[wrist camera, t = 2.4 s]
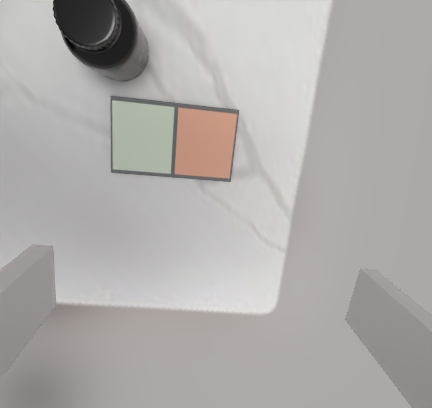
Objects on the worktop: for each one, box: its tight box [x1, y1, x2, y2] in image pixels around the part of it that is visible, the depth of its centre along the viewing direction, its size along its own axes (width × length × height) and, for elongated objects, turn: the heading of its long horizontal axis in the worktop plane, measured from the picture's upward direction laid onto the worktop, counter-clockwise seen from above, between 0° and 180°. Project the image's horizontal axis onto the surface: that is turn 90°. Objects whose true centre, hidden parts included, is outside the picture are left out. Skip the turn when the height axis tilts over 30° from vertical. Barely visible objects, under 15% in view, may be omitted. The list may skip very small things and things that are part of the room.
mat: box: [111, 96, 239, 182], centre depth 36 cm, size 16×10×1 cm, turn 84°
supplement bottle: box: [53, 0, 148, 81], centre depth 27 cm, size 7×7×12 cm
